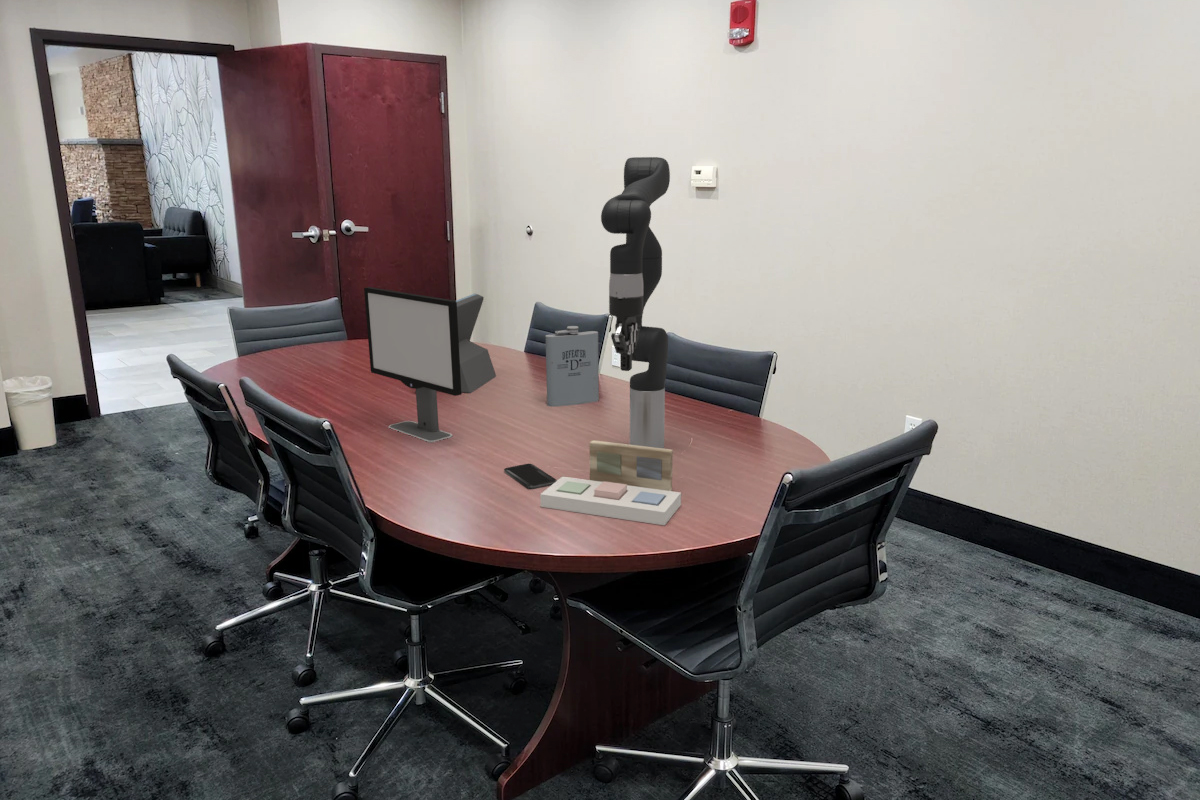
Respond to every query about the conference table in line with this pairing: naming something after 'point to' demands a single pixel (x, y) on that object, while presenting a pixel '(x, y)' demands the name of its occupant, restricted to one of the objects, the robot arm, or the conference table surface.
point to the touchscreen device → (472, 347)
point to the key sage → (573, 487)
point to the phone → (530, 476)
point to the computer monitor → (415, 351)
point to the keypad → (611, 502)
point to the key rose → (610, 490)
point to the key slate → (649, 498)
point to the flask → (572, 367)
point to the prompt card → (631, 465)
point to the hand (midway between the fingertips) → (626, 370)
